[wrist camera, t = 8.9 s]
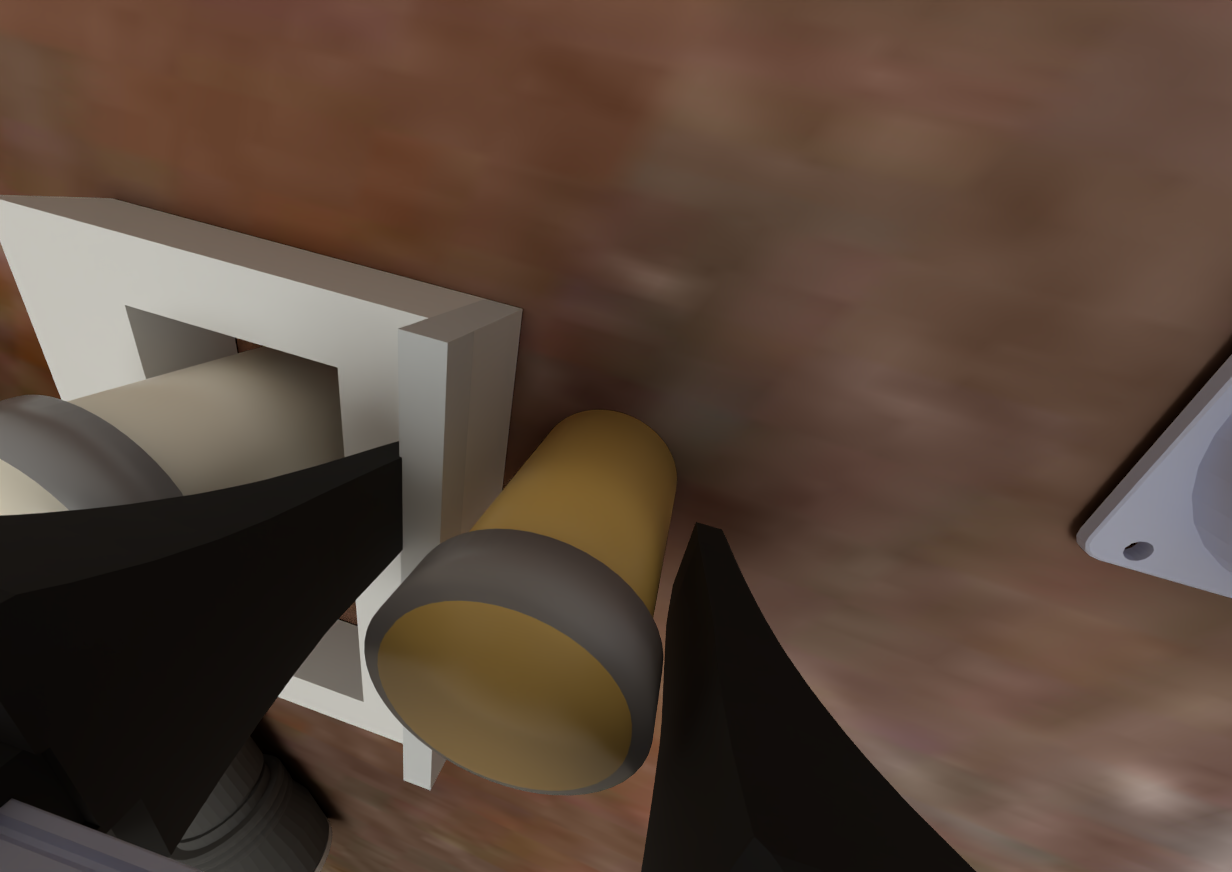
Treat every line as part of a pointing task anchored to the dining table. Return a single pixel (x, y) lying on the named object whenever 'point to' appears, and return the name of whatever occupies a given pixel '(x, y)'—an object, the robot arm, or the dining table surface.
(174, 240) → the housing
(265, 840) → the flashlight
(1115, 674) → the dining table surface
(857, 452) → the dining table surface
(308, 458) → the cream grey-rimmed peg
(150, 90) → the dining table surface
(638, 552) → the yellow cylinder grey rim
